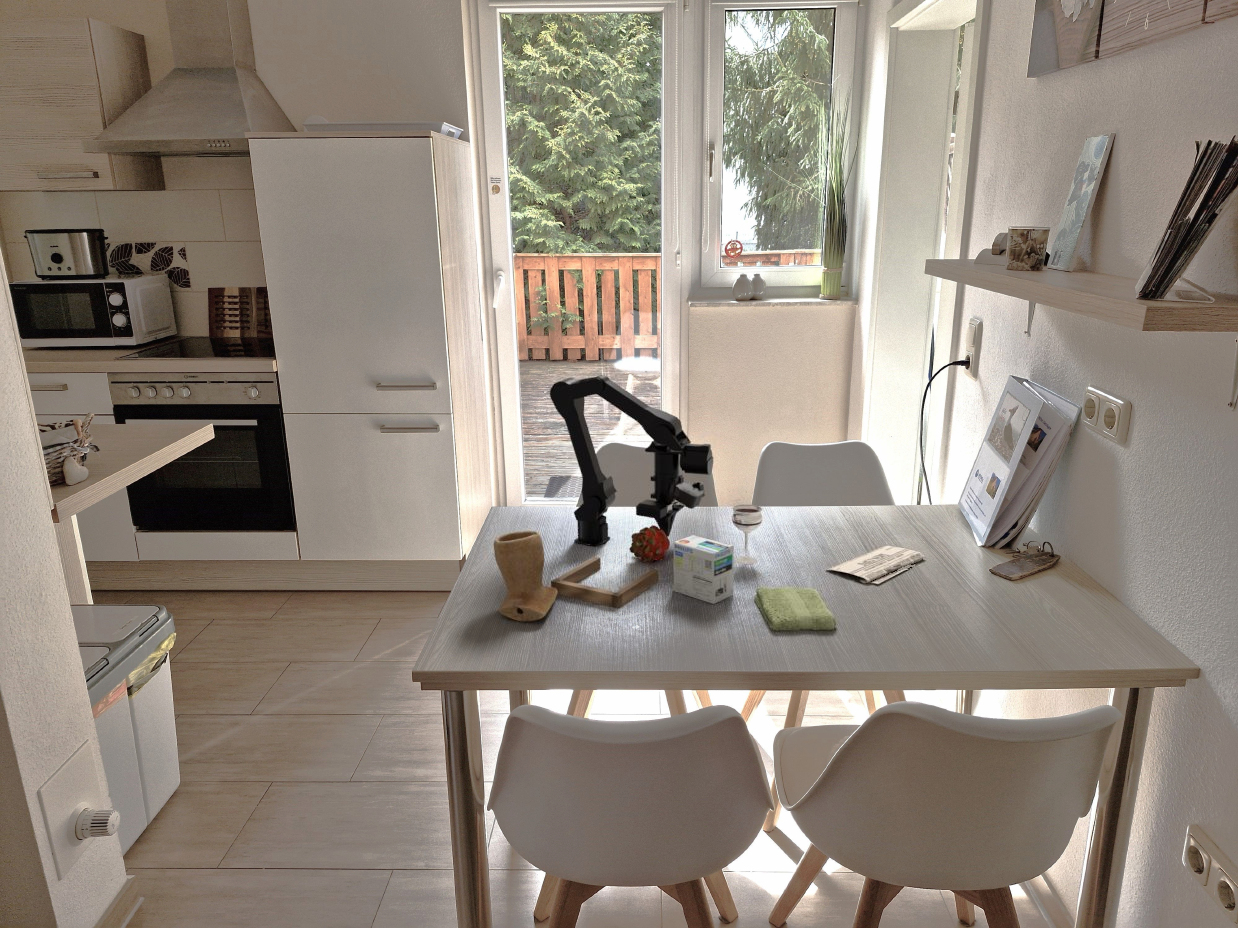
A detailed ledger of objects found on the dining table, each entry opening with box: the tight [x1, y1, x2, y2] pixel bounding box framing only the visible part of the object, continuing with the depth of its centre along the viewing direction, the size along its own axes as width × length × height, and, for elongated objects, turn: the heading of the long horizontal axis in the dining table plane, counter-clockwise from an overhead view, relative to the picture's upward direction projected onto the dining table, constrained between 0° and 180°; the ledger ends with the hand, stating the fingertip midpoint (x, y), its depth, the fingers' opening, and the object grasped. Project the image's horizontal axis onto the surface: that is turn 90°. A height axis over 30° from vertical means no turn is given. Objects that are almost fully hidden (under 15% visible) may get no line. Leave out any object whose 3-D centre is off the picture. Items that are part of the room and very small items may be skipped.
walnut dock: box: [550, 556, 660, 609], centre depth 182 cm, size 16×16×2 cm
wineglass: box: [731, 503, 764, 565], centre depth 195 cm, size 7×7×12 cm
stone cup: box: [493, 530, 558, 622], centre depth 170 cm, size 15×12×15 cm
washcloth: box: [753, 586, 837, 632], centre depth 168 cm, size 13×18×3 cm
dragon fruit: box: [629, 525, 671, 564], centre depth 197 cm, size 8×8×12 cm
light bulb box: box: [673, 534, 735, 605], centre depth 177 cm, size 11×7×11 cm, turn 47°
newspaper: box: [825, 545, 926, 585], centre depth 192 cm, size 23×12×2 cm, turn 130°
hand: (666, 536), depth 203 cm, fingers closed
